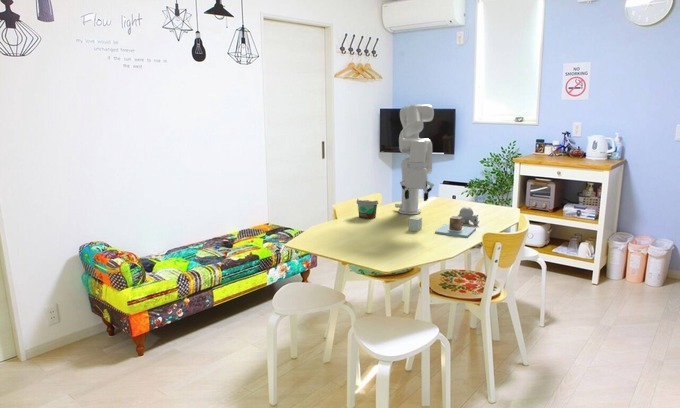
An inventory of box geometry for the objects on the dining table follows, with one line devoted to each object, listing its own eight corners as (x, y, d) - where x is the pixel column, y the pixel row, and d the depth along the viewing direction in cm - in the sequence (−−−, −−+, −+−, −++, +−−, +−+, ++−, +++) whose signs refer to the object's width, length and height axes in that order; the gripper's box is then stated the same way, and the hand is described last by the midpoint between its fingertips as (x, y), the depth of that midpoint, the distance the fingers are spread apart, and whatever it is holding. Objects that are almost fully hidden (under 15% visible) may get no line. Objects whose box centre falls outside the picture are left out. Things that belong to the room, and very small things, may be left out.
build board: (434, 233, 246) (435, 230, 246) (444, 225, 259) (444, 223, 259) (467, 237, 238) (467, 235, 238) (475, 229, 252) (475, 227, 252)
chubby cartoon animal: (471, 231, 260) (477, 217, 255) (453, 218, 266) (459, 205, 262) (479, 228, 264) (485, 215, 260) (461, 216, 271) (467, 203, 267)
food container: (353, 218, 275) (353, 200, 273) (357, 215, 280) (357, 198, 278) (374, 220, 270) (374, 202, 268) (378, 218, 276) (378, 200, 274)
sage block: (408, 230, 252) (408, 218, 250) (412, 227, 256) (412, 216, 255) (418, 231, 249) (418, 219, 248) (421, 229, 254) (421, 217, 252)
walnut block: (449, 229, 248) (449, 217, 246) (452, 227, 252) (452, 215, 251) (459, 231, 245) (459, 219, 244) (462, 228, 250) (462, 217, 248)
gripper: (398, 165, 246) (397, 199, 250) (431, 167, 238) (430, 202, 242) (403, 163, 253) (402, 197, 256) (436, 165, 245) (435, 200, 248)
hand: (416, 199), depth 249 cm, fingers open, 9 cm apart
